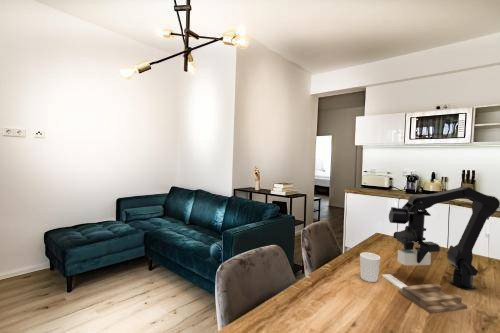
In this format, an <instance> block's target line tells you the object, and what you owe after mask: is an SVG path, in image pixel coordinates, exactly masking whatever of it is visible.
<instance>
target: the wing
mask: <svg viewBox="0 0 500 333" xmlns="http://www.w3.org/2000/svg"><path fill="white" fill-rule="evenodd" d="M381 277H382V278H383V279H385V280H387V281H388V282H389V283H391V284H392V285H394V286H395V287H396V288H397V289H403V287H407V286H408V285H406V284H405V283H404V282H402V281H401V280H399V279H398V278H396V277H395V276H393V275H392V274H390V273H389V274H381Z"/></svg>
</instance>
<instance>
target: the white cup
mask: <svg viewBox="0 0 500 333" xmlns="http://www.w3.org/2000/svg"><path fill="white" fill-rule="evenodd" d="M380 262H381V256H380V255H378V254H375V253H374V252H373V253H372V252H366V251H365V252H361V253H359V271H360V272H359V273H360V279H361V280H362V281H363V280H364V281H365V282H369V283H375V282H377V281H378V277H379V273H380V264H381V263H380Z"/></svg>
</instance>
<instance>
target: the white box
mask: <svg viewBox="0 0 500 333" xmlns="http://www.w3.org/2000/svg"><path fill="white" fill-rule="evenodd" d="M396 259H397V260H396V261H397V262H398V263H400V265H401V264H402V265H403V266H431V261H432V260H431V259H432V252H428V253H427V254H426V255H425V257H424V258H423V259H422V261H421V262H420V263H417V250H416V249H413V250H405V249H397V258H396Z"/></svg>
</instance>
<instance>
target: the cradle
mask: <svg viewBox="0 0 500 333" xmlns="http://www.w3.org/2000/svg"><path fill="white" fill-rule="evenodd" d="M397 289H398V291H397V292H398V293H399V294H401V295H402V296H404V298H407V299H408V300H410V301H411V302H413V303H414V304H416V305H417V306H418V307H419V308H422V309H423V310H424V311H426V312H428V313H429V314H432V313H433V314H434V313H439V312H440V313H441V312H446V311H447V312H448V311H457V310H458V311H459V310H465V309H467V308H468V304H466V303H464V302H462V299H463V298H462V296H461V295H459V294H458V293H455V294H447V293H446V292H443V291H442V286H441V285H440V284H438V283H429V284H415V285H414V284H413V285H410V286H409V285H407V287H403V289H399V288H397Z"/></svg>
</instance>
